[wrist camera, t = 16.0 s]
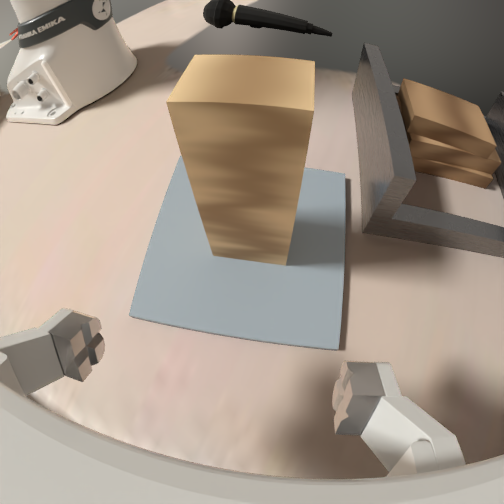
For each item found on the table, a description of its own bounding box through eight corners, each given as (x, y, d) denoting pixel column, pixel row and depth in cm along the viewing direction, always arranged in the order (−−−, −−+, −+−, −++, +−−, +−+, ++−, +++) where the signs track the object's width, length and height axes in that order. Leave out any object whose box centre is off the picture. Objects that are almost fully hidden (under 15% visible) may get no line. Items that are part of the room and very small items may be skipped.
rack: (362, 232, 22) (394, 175, 16) (351, 93, 30) (363, 42, 24) (527, 262, 21) (570, 229, 14) (486, 133, 28) (509, 95, 22)
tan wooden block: (213, 255, 21) (166, 101, 9) (223, 212, 23) (194, 54, 11) (285, 265, 21) (313, 110, 9) (291, 221, 22) (314, 61, 10)
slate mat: (132, 317, 20) (128, 315, 20) (181, 160, 26) (180, 155, 25) (336, 350, 19) (338, 349, 18) (343, 178, 25) (345, 173, 24)
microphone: (326, 47, 40) (207, 24, 40) (335, 17, 36) (212, -5, 36) (328, 53, 37) (196, 28, 37) (337, 19, 32) (201, -5, 32)
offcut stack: (386, 167, 26) (408, 120, 20) (376, 118, 28) (391, 74, 23) (484, 190, 25) (513, 154, 19) (467, 142, 28) (488, 107, 22)
